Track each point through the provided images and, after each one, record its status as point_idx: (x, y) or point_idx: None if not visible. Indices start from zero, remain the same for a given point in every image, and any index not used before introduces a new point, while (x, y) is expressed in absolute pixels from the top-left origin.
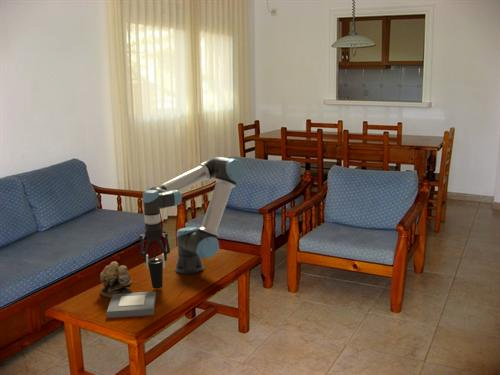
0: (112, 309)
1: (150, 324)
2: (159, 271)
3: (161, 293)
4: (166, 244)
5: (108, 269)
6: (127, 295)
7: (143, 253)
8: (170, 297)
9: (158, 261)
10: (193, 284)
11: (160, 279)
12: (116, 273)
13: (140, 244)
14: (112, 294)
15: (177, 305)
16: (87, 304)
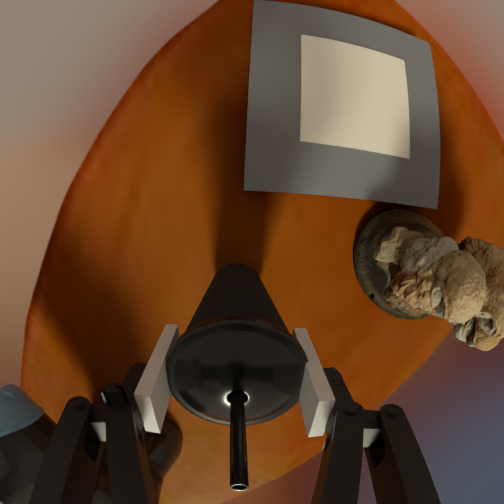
0: (416, 49)
1: None
2: (209, 299)
3: (217, 232)
4: (58, 479)
5: None
6: (385, 169)
7: (365, 426)
8: (172, 172)
9: (201, 346)
10: (90, 305)
11: (213, 283)
12: (479, 262)
13: (435, 496)
14: (432, 229)
15: (147, 81)
16: (480, 193)
